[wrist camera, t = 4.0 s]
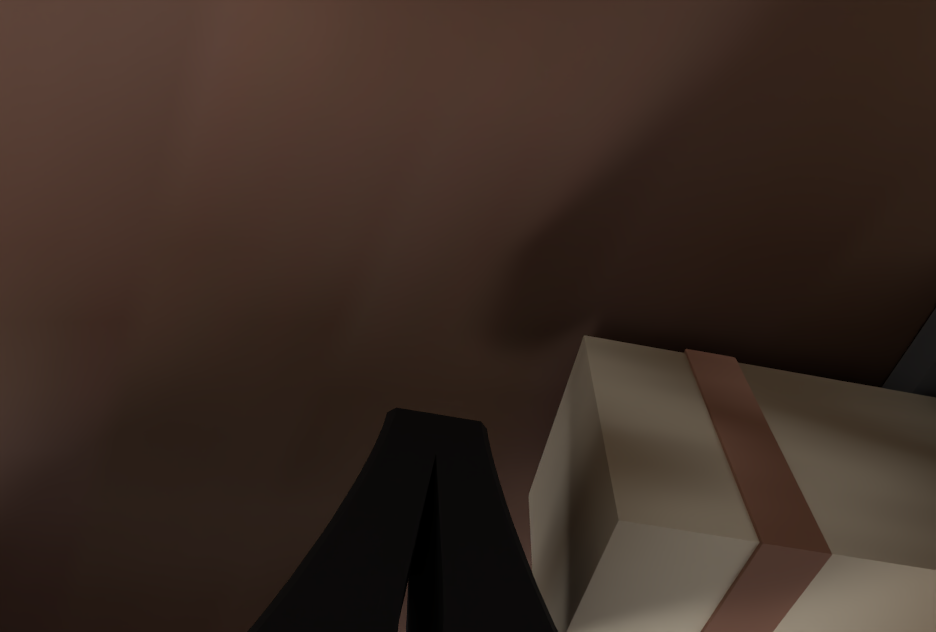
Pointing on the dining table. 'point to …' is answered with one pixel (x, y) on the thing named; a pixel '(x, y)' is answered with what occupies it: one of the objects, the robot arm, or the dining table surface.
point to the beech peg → (733, 499)
